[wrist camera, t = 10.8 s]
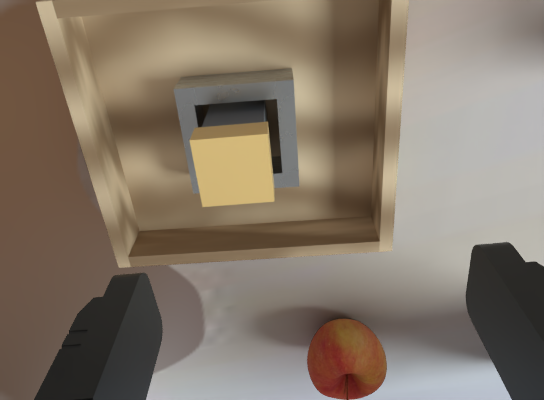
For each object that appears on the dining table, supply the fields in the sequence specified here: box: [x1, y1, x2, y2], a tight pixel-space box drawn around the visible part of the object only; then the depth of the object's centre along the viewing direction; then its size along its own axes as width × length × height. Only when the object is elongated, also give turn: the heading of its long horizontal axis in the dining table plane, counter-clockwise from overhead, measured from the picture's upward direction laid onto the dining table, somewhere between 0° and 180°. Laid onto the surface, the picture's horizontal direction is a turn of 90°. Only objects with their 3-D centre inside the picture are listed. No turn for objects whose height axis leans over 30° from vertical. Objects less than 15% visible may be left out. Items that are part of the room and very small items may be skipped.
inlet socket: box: [174, 68, 299, 194], centre depth 34 cm, size 8×8×3 cm
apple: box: [307, 319, 387, 400], centre depth 43 cm, size 7×7×8 cm
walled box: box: [36, 0, 409, 268], centre depth 34 cm, size 20×22×4 cm
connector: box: [190, 100, 274, 207], centre depth 31 cm, size 5×5×8 cm
